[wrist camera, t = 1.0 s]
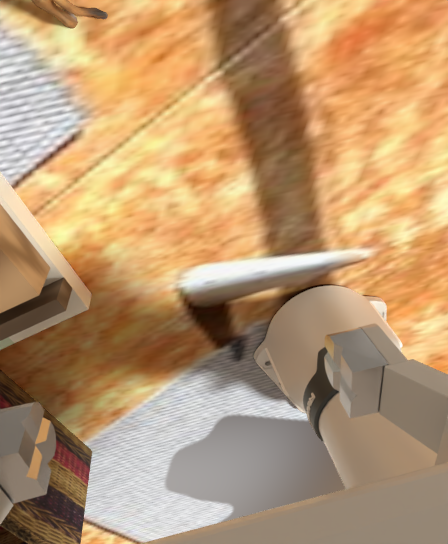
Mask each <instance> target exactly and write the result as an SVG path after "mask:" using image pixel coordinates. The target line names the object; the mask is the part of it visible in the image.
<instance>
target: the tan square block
mask: <svg viewBox="0 0 448 544" xmlns="http://www.w3.org/2000/svg"><path fill="white" fill-rule="evenodd" d="M49 271H50V267H49V265H48V264H47V263H46V261H45V260H44V259H43V258H42V256H41V255H40V254H39V252H38V251H37V250H36V249H35V247H34V246H33V245H32V244H31V242H30V241H29V240H28V238H27V237H26V236H25V235H24V233H23V232H22V231H21V229H20V228H19V227H18V226H17V224H16V223H15V222H14V221H13V219H12V218H11V217H10V215H9V214H8V213H7V212H6V210H5V209H4V208H3V207H2V205H1V204H0V313H2V312H4V311H6V310H8V309H11V308H13V307H15V306H17V305H19V304H21V303H24V302H26V301H28V300H30V299H32V298H34V297H36V296H39V295H40V292H41V290H42V288H43V285H44V283H45V280H46V278H47V275H48V273H49Z"/></svg>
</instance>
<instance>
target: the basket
mask: <svg viewBox="0 0 448 544" xmlns="http://www.w3.org/2000/svg"><path fill="white" fill-rule="evenodd" d="M33 402H36V401H35V400H34V399H33V398H32V397H30V396H29V395H28V394H27V393H26V392H25V391H24V390H22V389H21V388H20V387H19V386H18V385H17V384H16V383H15V382H13V381H12V380H11V379H10V378H9V377H8V376H7V375H5V374H4V373H3V372H2V371H1V370H0V409H3V408H8V407H13V406H18V405H23V404H28V403H33ZM43 409H44V408H43ZM43 418H45V419H47V420H50V421H51V423H52V425H53V427H54V430H55V434H56V449H55V455H54V456H53V458H52V459H51V460H50V461H49V462H48V466H49V468H50V469H51V474H50V479H49V484H48V489H47V493H46V495H42V496H39V497H35V498H31V499H28V500H24V501H21V502H17V503H13V507H12V508H11V510H10V511H9V513H8V514H7V516H6V517H5V519H4V520H3V521H2V523H1V524H0V544H80V543H81V535H82V527H83V519H84V511H85V503H86V495H87V487H88V480H89V472H90V464H91V456H92V451H91V449H89V448H88V447H87V446H86V445H85V444H84V443H83V442H81V441H80V440H79V439H78V438H77V437H76V436H75V435H74V434H72V433H71V432H70V431H69V430H68V429H67V428H66V427H64V426H63V425H62V424H61V423H60V422H59V421H58V420H56V419H55V418H54V417H53V416H52V415H51V414H50V413H49V412H47V411H46V410H45V409H44V414H43Z"/></svg>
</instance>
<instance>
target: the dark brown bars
mask: <svg viewBox="0 0 448 544" xmlns="http://www.w3.org/2000/svg"><path fill="white" fill-rule="evenodd" d="M71 292H72V287H71V286H70V284H69V283H68V282H67V281H66V279H65V278H61V279H59V280H57V281H55V282H53V283H51V284H49V285H46V286H44V287H43V288H42V290H41V292H40V295H39V296H36V297H34V298H32V299H30V300H28V301H26V302H24V303H21V304H19V305H17V306H15V307H13V308H11V309H8V310H6V311H4V312H2V313H0V341H1V340H3V339H6V338H8V337H10V336H12V335H14V334H16V333H19V332H21V331H23V330H25V329H27V328H30V327H32V326H34V325H36V324H38V323H40V322H43V321H45V320H47V319H49V318H51V317H53V316H56V315H58V314H60V313H62V312H64V311H66V309H67V306H68V302H69V299H70V295H71Z"/></svg>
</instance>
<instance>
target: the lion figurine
mask: <svg viewBox="0 0 448 544" xmlns="http://www.w3.org/2000/svg"><path fill="white" fill-rule="evenodd" d="M32 1H33V3H34V4H35V5H36V6H38V7H39V8H41V9H43V10H45V11H46V12H48V13H50V14H51V15H53V16H54V17H56V18H57V19H58V20H60V21H61V22H62V23H63V24H64V25H65V26H67V27H69V28H75V27H76V25H77V23H78V21H77V19H76V17H75V15H76V16H94V17H96V18H97V19H106V18H107V16H108V15H107V13H106V12H103V11H101V10H99V9H97V8H79V7H77V6H75V5H73V4H71V3H70V2H69V1H68V0H32ZM54 2H55V3H57V4H58V5H60V6H61V7H62V8H64V9H65V11H63V10H61V9H60V8H58V7H57V6H56V4H55V3H54Z"/></svg>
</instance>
